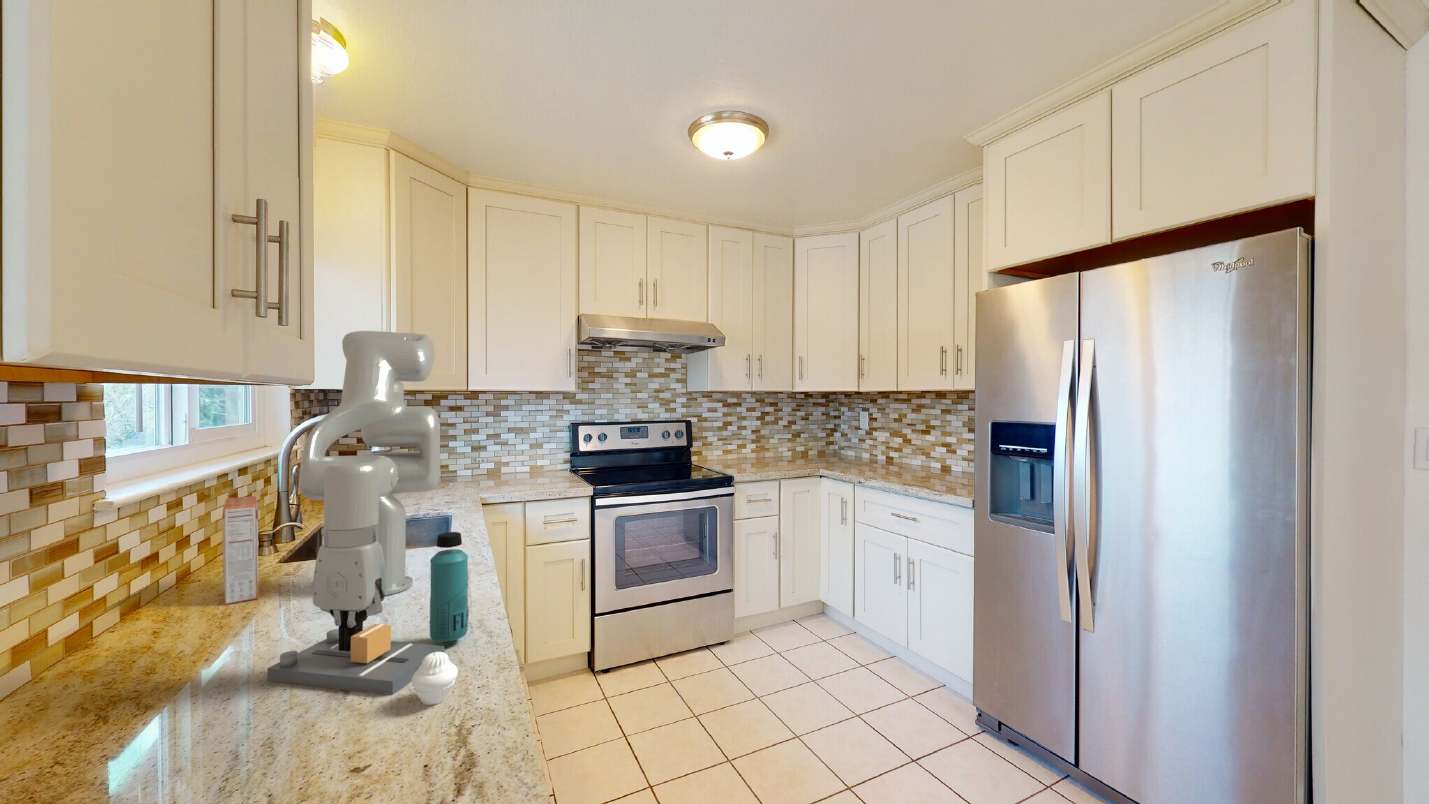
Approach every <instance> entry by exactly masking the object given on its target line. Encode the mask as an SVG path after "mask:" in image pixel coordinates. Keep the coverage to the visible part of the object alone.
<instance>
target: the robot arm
mask: <svg viewBox="0 0 1429 804" xmlns="http://www.w3.org/2000/svg"><path fill="white" fill-rule="evenodd" d="M341 342H342V343H341V344H342V345H341V347H342V352H343V355H344V357H345V359H346V363H345V369H344V370H345V371H344V378H343V385H342V393H341V401H340V404H339V405H338V406H337V407H336V408H335V409H332V411H330V412H329V413H328V414H326V415H325V416H324V417H322V419H320V420H319V422H318V423H316V425H315V426H314V427H313V428H312V430H311V431H310V432H309V434H308V436H307V438H306V440H305V442H304V446H303V449H302V450H303V451H302V458H301V463H300V469H299V475H298V476H299V478H298V485H299V489H300V493H301V494H302V495H303V497H305V498H306V499H309V500H312V501H323V528H322V530H321V531H320V532H321V533H320V534H321V536H322V537H323V544H322V545H320V546H319V548H318V552H317V556H316V559H315V560H316V561H315V566H314V572H313V583H312V603H313V605H314V606H315V607H316V608H319V609H320V610H321V611H322V612H326V613H327V614H330V615H331V617H333V619H334V620H333V621H334V625H335V626H336V627H338V629H339V647H338V650H339V651H345V652H349V651H351V636H353V635H355V634H357V633H359V632H361V631H363V630H364V622H365V621H367V619H368V617H372V616H375V615H379V614H380V613H382V612H383V605H382V602H383V601H384V600H385V597H386V596H391V595H394V594H398V593H400V592H403V591H406V590H408V589H410V588H411V587H412V585H413V581H414V580H413V578H412V577H410V576H409V575H406V557H407V555H406V554H407V553H406V549H407V548H406V547H407V546H406V544H407V542H406V541H407V539H406V538H407V536H406V535H407V530H406V529H407V512H406V510H405V507H404V505H403V503H401V502H400V501H399V499H397V497H396V496H395V494H400V493H401V494H402V493H421V492H430V491H432V490H434V489H436V488H437V487H438V485H439V481H440V476H441V430H440V429H441V427H440V425H441V424H440V418H439V415H438V413H437V411H436V410H435V409H433V408H431V407H430V406H429V407H428V406H422V405H421V406H419V405H418V406H417V405H416V406H415V405H414V406H413V405H412V406H408V405H407V406H406V405H405V399H404V397H405V393H404V392H405V387H404V386H405V385H404V382H415V383H416V382H423V381H426V380H427V379H428V378H429V376H430V374H431V371H432V367H433V364H434V360H435V345H434V343H433V340H432V339H431V338H430V337H429V335H427V334H422V333H413V332H412V333H409V332H396V331H395V332H392V331H382V330H381V331H379V330H377V331H376V330H359V331H351V332H349V333H346V334H345V335H344V336H343V338H342V341H341ZM358 430H360V431H361V438H362V441H363V442H364V443H365V445H367V446H370V447H376V448H407V447H408V448H410V447H412V448H414V447H415V448H416V449H418V451H404V452H403V451H391V452H389V451H387V452H386V451H385V452H372V453H368V454H364V455H336V456H335V455H332V456H331V455H330V456H325V454H326V453H327V450H328V449H329V447H330V446H332V444H334V443H335V442H336V441H337V440H339V439H341V438H342V437H344V436H347V435H349V434H351V433H354V432H356V431H358ZM405 589H406V590H405Z"/></svg>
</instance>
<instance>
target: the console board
mask: <svg viewBox="0 0 1429 804" xmlns="http://www.w3.org/2000/svg"><path fill="white" fill-rule="evenodd" d="M338 647H339V628H335V629H331V630H328V631H326V638H325V639H323V640H320V641H319V642H317V643H315V644H313V645H311V646H309V647H307V648H305V649H303V650H301V651H300V652H298V651H296V650H290V651H286V652H282V653H281V654H280V655H279V662H277V663H275V664H273V665H271V666H269V667H267V672H266V673H267V676H266V678H267V681H268V682H273V683H275V682H276V683H283V684H293V685H294V684H295V685H299V686H300V685H303V686H310V687H311V686H312V687H320V688H329V689H339V690H346V691H347V690H349V691H355V692H365V693H373V694H374V693H375V694H384V695H390V696H391V695H394V694H396V693H397V692H398V691H400V690H402V689H403V688H404V687H406V686H407V685H408V684H409V683H411V680H412V677H413V675H414V673H415V672H416V671H417V670H418V669H419V667H420V666H421V665H422V660H423V659H424V658H425V657H426V656H427V655H429V654H430V653H433V652H434V653H435V652H444V653H445V645H438V644H436V645H435V644H427V643H425V644H424V643H414V642H405V641H393V640H391V649H390V650H389V651H387V652H385V653H384V654H382V655H380V656H379V657H377V658H375V659H374V660H372V661H370V662H369V663H359V662H351V651H349V652H345V651H339V650H338Z"/></svg>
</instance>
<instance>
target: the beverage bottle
mask: <svg viewBox="0 0 1429 804" xmlns="http://www.w3.org/2000/svg"><path fill="white" fill-rule="evenodd" d="M436 538H437V540H436V547H437V548H443V549H444V550H441V551H440V550H439V551H438V552H437V553H436V554H434V555H433V556H432V557H431V558H430V562H429V563H430V595H429V596H430V597H429V612H428V613H429V623H428V625H429V628H428V629H429V636H430V638H431V640H432V641H434V642H438V643H439V642H440V643H444V642H445V643H446V642H452V641H456V640H458V639H462V638H463V637H465V636H466V635H467V633H468V630H469V619H470V617H469V615H470V614H469V610H470V609H469V596H468V595H469V591H468V590H469V580H470V579H469V578H470V577H469V576H470V575H469V569H468V568H469V565H468V559H469V556H468V554H467V553H466V552H465V551H464V550H461V549H458V548H457V549H456V547H459V546H461V545H462V544H463V542H462V533H461V532H459V531H447V532H442V533H439V534H438V535H437V537H436ZM454 547H455V548H454ZM445 548H447V549H445ZM448 548H451V549H448ZM452 548H453V549H452Z"/></svg>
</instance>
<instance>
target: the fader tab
mask: <svg viewBox="0 0 1429 804" xmlns="http://www.w3.org/2000/svg"><path fill="white" fill-rule="evenodd" d="M391 629H392V625H388V624H384V623H380V624H379V623H374V624H373V625H370V626H369V627H367V628H364V629H363V631H361V632H359V633H357V634H355V635H353V636H351V662H359V663H369V662H370V661H372V660H374V659H375V658H377V657H379V656H380V655H382V654H384V653H385V652H387V651H389V650H390V649H391V641H392V635H391V634H392V630H391Z"/></svg>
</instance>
